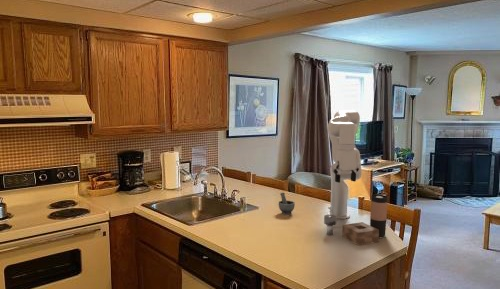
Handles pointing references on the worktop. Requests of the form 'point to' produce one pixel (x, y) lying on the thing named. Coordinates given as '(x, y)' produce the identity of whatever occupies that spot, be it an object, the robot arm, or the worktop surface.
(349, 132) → the robot arm
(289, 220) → the worktop surface
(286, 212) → the mortar and pestle
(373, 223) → the travel mug
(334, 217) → the peg
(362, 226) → the block
